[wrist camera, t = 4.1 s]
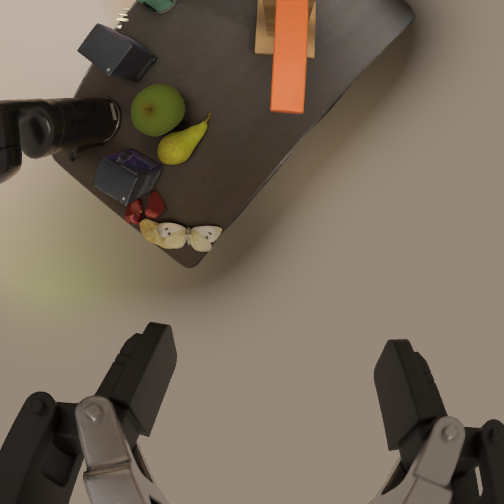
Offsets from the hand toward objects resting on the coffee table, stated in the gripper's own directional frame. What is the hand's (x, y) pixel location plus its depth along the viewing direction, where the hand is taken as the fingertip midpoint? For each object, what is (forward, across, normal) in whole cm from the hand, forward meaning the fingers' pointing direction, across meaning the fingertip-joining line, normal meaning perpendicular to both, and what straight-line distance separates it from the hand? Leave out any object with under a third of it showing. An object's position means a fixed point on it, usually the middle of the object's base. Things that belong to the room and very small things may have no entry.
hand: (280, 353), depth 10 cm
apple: (+42, -20, +10) cm, 48 cm away
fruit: (+39, -21, +1) cm, 44 cm away
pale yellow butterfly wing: (+42, -26, -17) cm, 52 cm away
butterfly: (+39, -17, -16) cm, 45 cm away
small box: (+42, -29, +22) cm, 56 cm away
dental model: (+40, -22, -8) cm, 46 cm away
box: (+42, -27, -1) cm, 50 cm away
